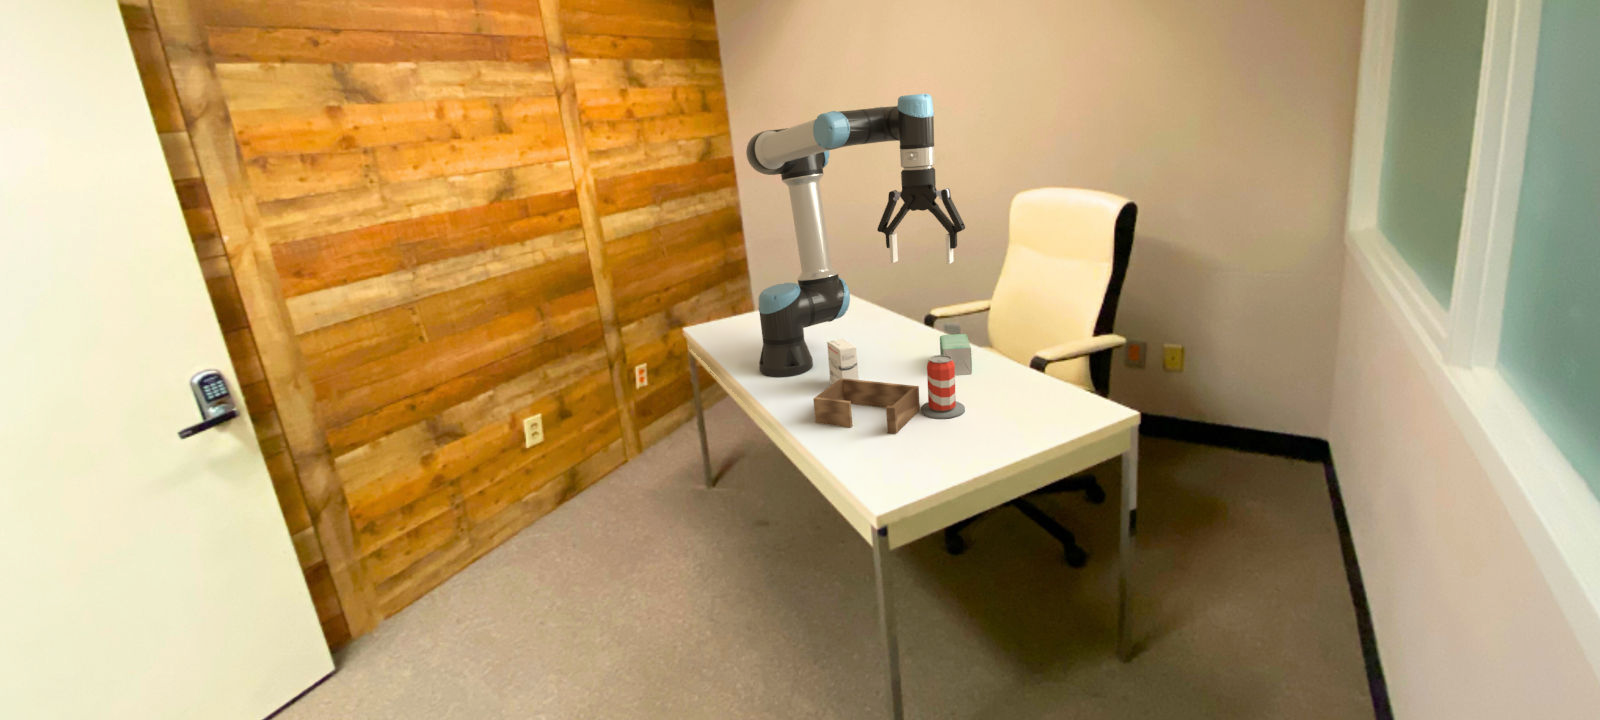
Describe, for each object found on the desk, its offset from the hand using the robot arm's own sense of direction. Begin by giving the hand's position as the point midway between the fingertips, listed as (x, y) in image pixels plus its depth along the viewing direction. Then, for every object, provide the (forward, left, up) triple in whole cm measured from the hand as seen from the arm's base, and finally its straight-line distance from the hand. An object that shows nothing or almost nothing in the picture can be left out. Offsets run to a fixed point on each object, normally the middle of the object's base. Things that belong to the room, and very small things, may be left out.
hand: (921, 262), depth 172 cm
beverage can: (+7, -9, -32) cm, 34 cm away
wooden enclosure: (-8, -17, -33) cm, 38 cm away
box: (0, +21, -33) cm, 39 cm away
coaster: (+7, -9, -33) cm, 34 cm away
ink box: (-22, -1, -33) cm, 40 cm away
